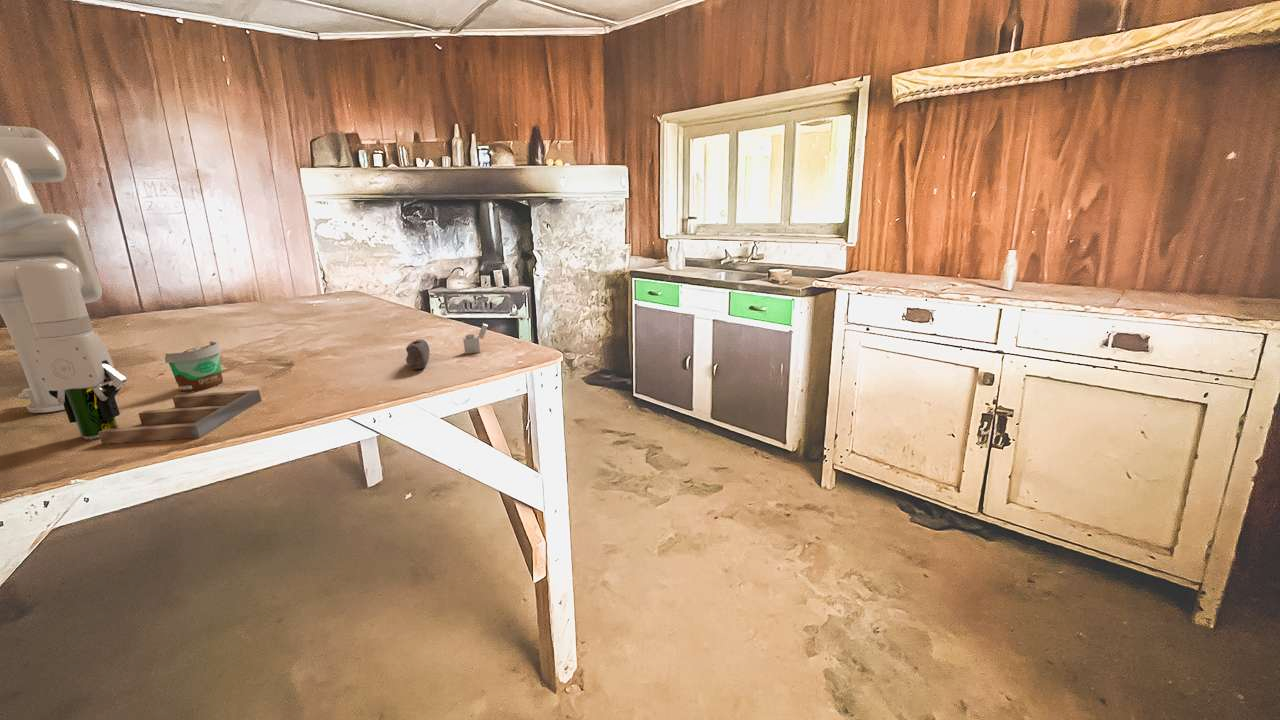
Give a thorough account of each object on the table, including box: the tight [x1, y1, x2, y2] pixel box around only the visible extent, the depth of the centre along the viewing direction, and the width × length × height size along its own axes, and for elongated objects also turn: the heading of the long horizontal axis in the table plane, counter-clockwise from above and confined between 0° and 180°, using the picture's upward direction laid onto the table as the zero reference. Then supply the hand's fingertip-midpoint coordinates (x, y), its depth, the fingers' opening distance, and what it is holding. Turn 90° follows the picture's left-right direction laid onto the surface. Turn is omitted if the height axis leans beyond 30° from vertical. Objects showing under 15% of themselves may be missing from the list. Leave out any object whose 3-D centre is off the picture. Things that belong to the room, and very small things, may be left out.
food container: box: [164, 341, 224, 393], centre depth 135 cm, size 12×6×10 cm, turn 168°
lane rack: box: [98, 389, 262, 445], centre depth 114 cm, size 18×20×2 cm
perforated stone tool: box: [405, 338, 430, 370], centre depth 147 cm, size 15×5×7 cm, turn 11°
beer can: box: [65, 386, 119, 440], centre depth 107 cm, size 5×5×12 cm
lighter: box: [462, 322, 489, 355], centre depth 157 cm, size 7×2×8 cm, turn 106°
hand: (95, 418), depth 108 cm, fingers closed on beer can, 5 cm apart
